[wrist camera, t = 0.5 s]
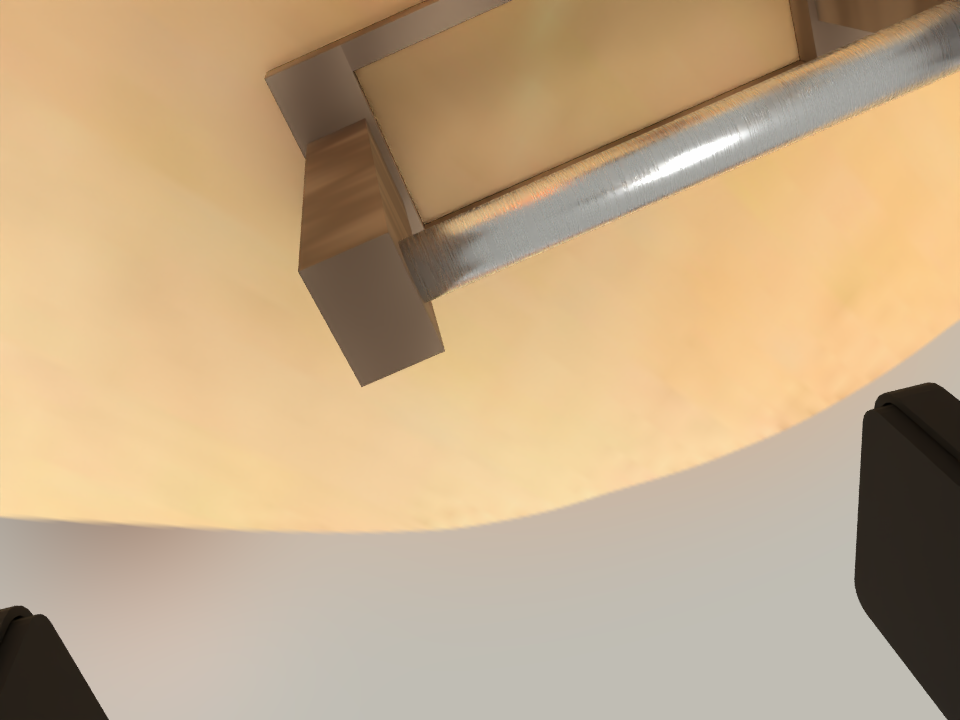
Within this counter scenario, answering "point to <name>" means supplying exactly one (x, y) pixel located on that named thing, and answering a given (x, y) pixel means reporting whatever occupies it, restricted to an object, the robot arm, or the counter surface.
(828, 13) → the stand
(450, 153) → the counter surface
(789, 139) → the rail
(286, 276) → the counter surface
